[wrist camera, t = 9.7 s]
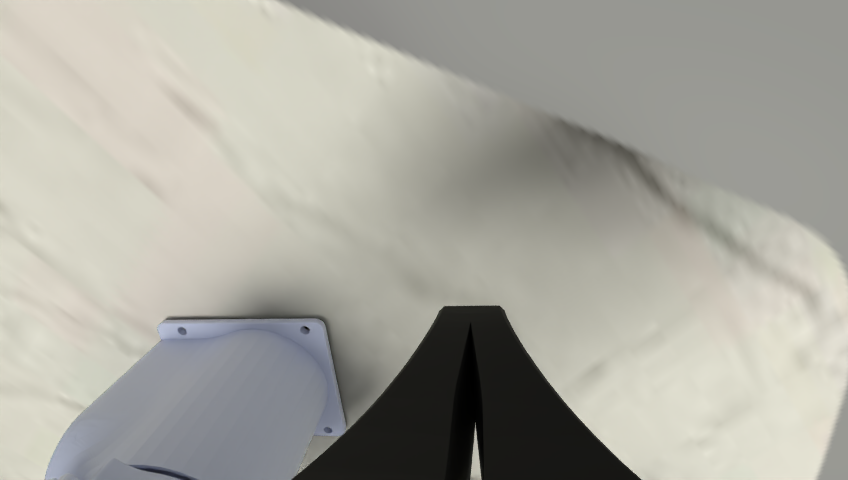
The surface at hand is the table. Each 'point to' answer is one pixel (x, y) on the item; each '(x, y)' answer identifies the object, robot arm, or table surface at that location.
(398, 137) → the table surface
